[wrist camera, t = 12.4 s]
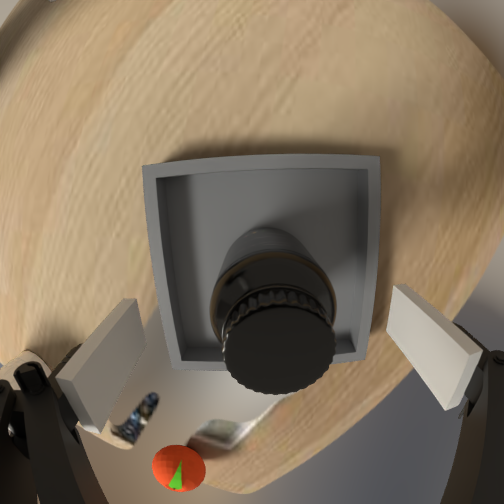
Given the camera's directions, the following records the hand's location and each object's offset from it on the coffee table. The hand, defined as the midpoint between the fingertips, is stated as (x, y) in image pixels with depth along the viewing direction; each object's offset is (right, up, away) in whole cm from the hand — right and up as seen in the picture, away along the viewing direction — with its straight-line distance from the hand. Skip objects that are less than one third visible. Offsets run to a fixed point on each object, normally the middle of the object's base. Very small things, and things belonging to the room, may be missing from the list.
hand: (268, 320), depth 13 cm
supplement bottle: (0, +2, +9) cm, 10 cm away
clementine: (-10, -23, +17) cm, 30 cm away
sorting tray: (0, +2, +10) cm, 10 cm away
